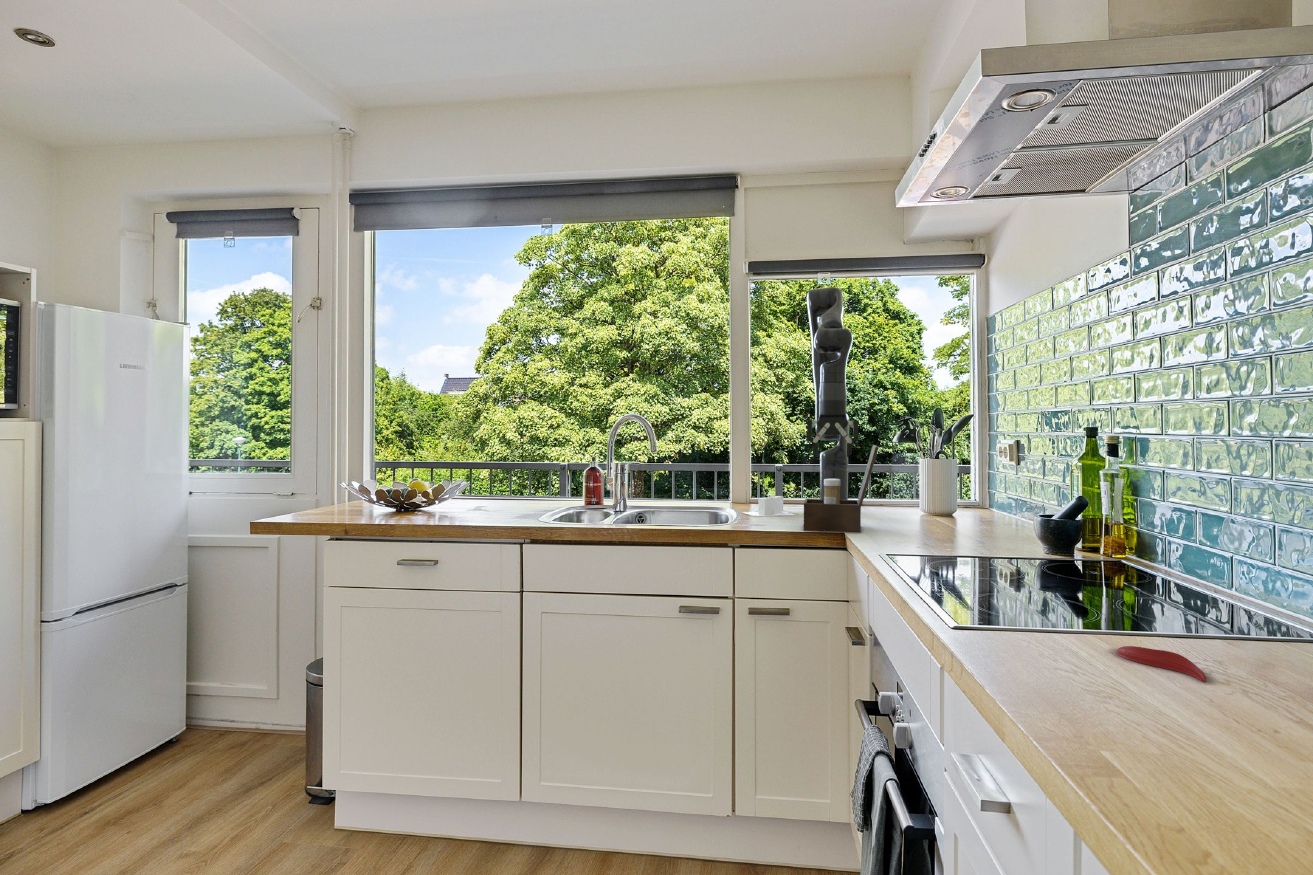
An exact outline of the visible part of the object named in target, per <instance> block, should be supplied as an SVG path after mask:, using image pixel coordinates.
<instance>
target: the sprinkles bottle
mask: <svg viewBox="0 0 1313 875" xmlns="http://www.w3.org/2000/svg"><path fill="white" fill-rule="evenodd" d="M824 488H825V489H824V504H840V479H824Z"/></svg>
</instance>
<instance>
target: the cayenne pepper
mask: <svg viewBox="0 0 1313 875" xmlns="http://www.w3.org/2000/svg"><path fill="white" fill-rule="evenodd" d="M1115 652H1116V655H1118V656H1120V657H1121V658H1124V659H1126V660H1129V661H1132V662H1136V663H1139V664H1142V665H1147V666H1152V667H1156V668H1161V669H1166V670H1169V671H1174V672H1178V673H1182V674H1186V675H1188V676H1191V677H1194V678H1195V679H1197V680H1199V681H1201V682H1203V683H1205V682H1207V676H1206V673H1205V672H1204V671H1203V670H1202V669H1201V668H1199V667H1198V666H1197V665H1196V663H1194V662H1193V661H1191V660H1190V659H1188V657H1185V656H1183V655H1182V654H1179V653H1176V652H1173V651H1169V650H1163V649H1155V648H1148V647H1143V646H1134V645H1124V646H1119V647H1118V648H1117V650H1115Z"/></svg>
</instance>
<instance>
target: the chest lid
mask: <svg viewBox="0 0 1313 875" xmlns="http://www.w3.org/2000/svg"><path fill="white" fill-rule="evenodd" d="M878 451H879V446H877V445H875V444H872V447H871V450H870V454H869V458H868V461H867V465H866V468H865V471H864V475H863V479H862V482H861V485H860V489H859V492H858V495H857V500H859V503H861V504H862V505H863V502H864V499H865V496H866V493H867V490H868V489H867V488H868V484H869V482H870V479H871V475H872V473H873V472H872V471H873V468H874V465H875V461H876V458H877V456H878V455H877V454H878Z"/></svg>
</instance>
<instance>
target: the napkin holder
mask: <svg viewBox="0 0 1313 875" xmlns="http://www.w3.org/2000/svg"><path fill="white" fill-rule="evenodd" d="M757 500H758V502H757V503H758V504H757V506H758V507H757V510H758V511H743V512H741V513H742V514H744V515H745V514H746V515H749V516H752V517H776V516H777V517H780V516H796V514H795V513H792V512H788V511H784V496H783V495H775V496H772V495H771V496H769V495H768V497H765V496H764V497H761V498H758V499H757Z"/></svg>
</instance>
